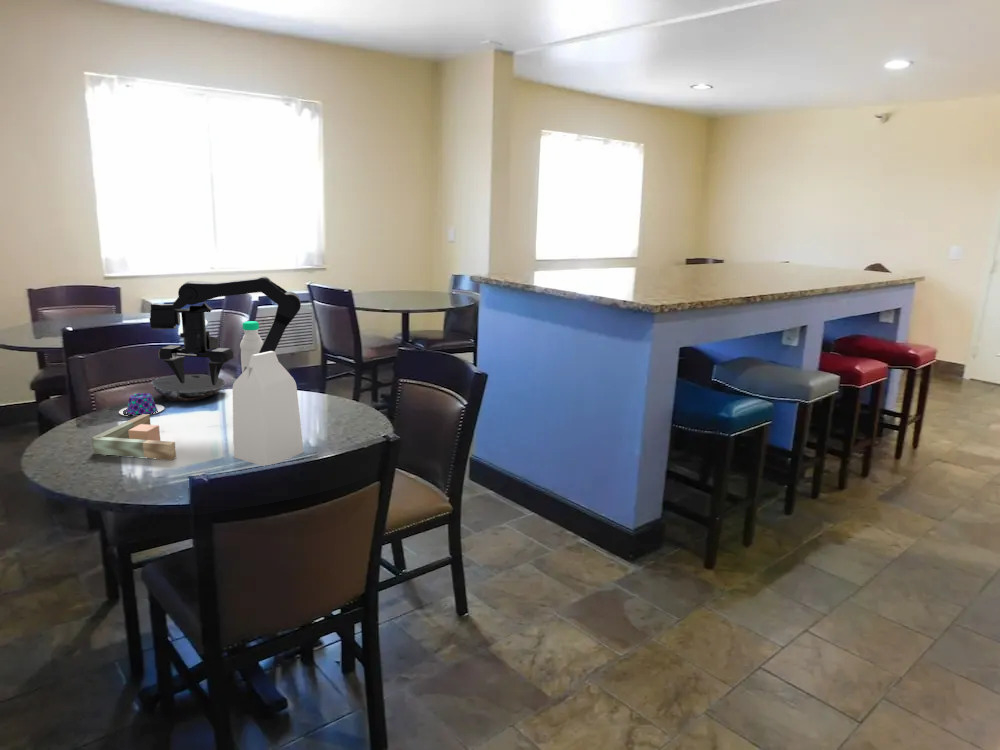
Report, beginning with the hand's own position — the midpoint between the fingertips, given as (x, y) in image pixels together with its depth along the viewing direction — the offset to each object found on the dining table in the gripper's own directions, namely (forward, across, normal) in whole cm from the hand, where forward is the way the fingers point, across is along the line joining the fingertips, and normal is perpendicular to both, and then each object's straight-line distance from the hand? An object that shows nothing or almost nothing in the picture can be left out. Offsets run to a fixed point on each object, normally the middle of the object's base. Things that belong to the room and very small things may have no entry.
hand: (198, 384), depth 187 cm
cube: (+12, +5, +18) cm, 22 cm away
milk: (+12, -28, +18) cm, 35 cm away
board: (+12, +20, -28) cm, 37 cm away
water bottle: (+12, -2, -28) cm, 31 cm away
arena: (+12, +4, +15) cm, 20 cm away
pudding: (+13, +24, -9) cm, 28 cm away
